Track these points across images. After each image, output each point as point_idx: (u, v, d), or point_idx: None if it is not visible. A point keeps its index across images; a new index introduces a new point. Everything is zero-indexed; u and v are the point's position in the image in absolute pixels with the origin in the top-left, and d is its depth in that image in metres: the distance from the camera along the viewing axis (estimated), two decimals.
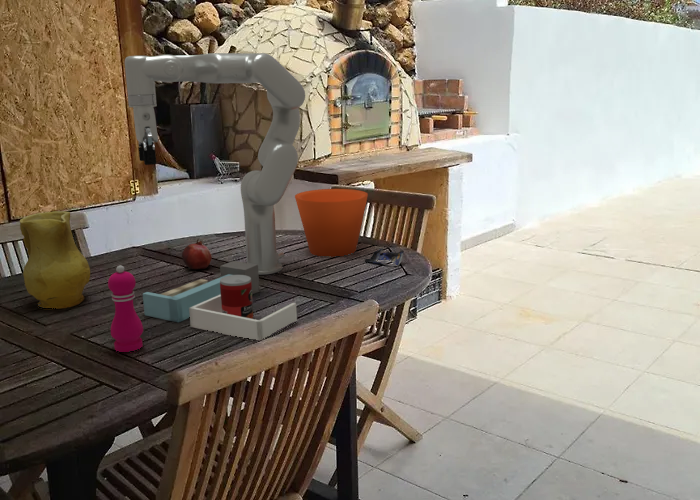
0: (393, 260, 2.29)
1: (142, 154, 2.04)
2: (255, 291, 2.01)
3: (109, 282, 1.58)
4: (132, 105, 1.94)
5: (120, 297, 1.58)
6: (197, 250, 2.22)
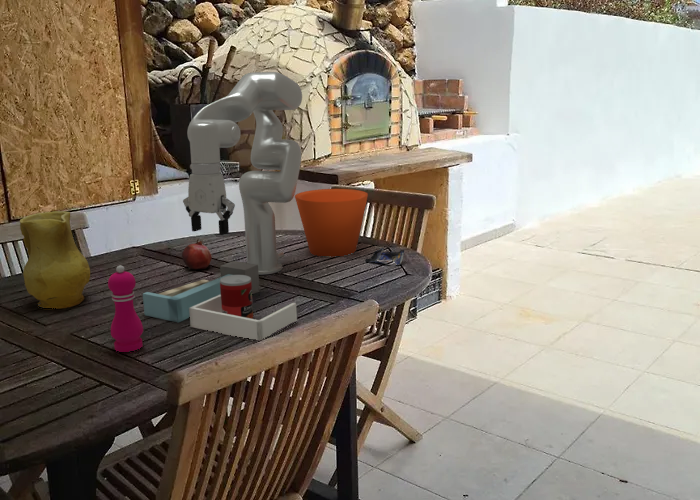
0: (393, 259, 2.30)
1: None
2: (255, 291, 2.01)
3: (109, 282, 1.58)
4: None
5: (120, 297, 1.58)
6: (197, 250, 2.22)
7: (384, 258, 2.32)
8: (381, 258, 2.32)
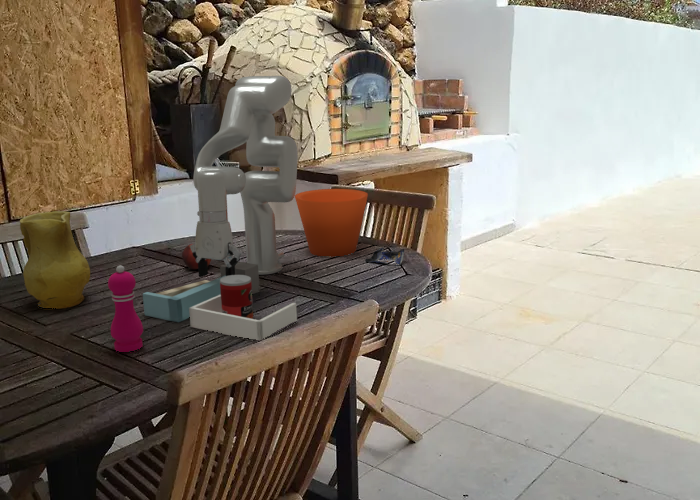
0: (393, 259, 2.30)
1: None
2: (255, 291, 2.01)
3: (109, 282, 1.58)
4: None
5: (120, 297, 1.58)
6: None
7: (384, 258, 2.32)
8: (381, 258, 2.32)
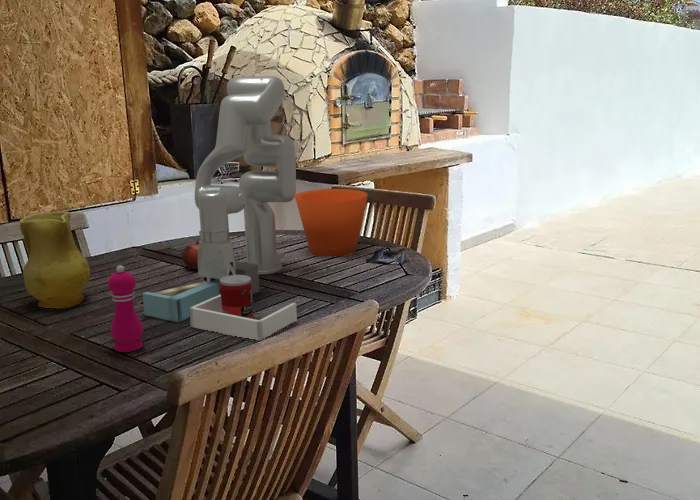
0: (393, 258, 2.31)
1: None
2: (255, 291, 2.01)
3: (109, 282, 1.58)
4: None
5: (120, 297, 1.58)
6: (197, 250, 2.22)
7: (383, 257, 2.33)
8: (380, 257, 2.33)
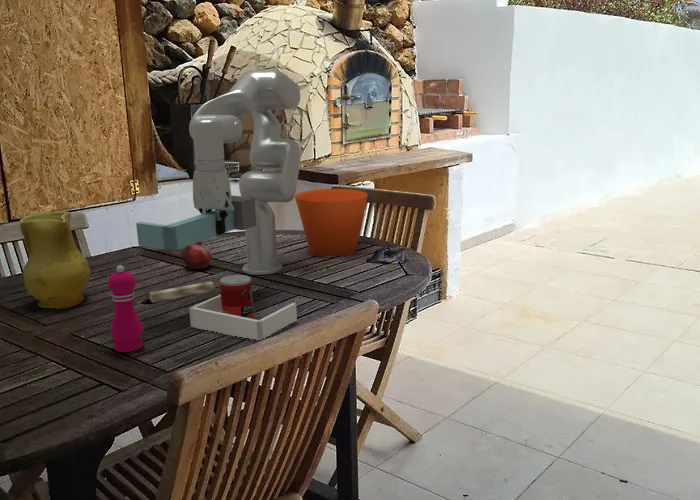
0: (393, 258, 2.32)
1: None
2: (252, 225, 1.97)
3: (109, 282, 1.58)
4: None
5: (120, 297, 1.58)
6: (197, 250, 2.22)
7: (383, 257, 2.33)
8: (380, 257, 2.33)
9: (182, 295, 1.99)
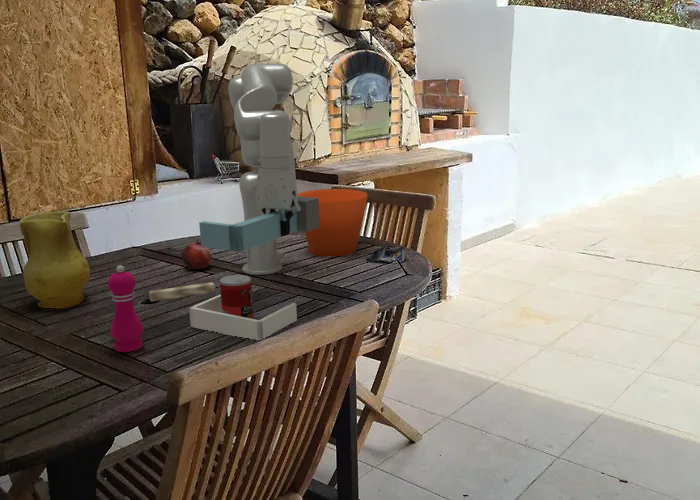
0: (393, 257, 2.32)
1: None
2: (315, 226, 1.87)
3: (109, 282, 1.58)
4: None
5: (120, 297, 1.58)
6: (197, 250, 2.22)
7: (382, 256, 2.34)
8: None
9: (181, 295, 1.99)
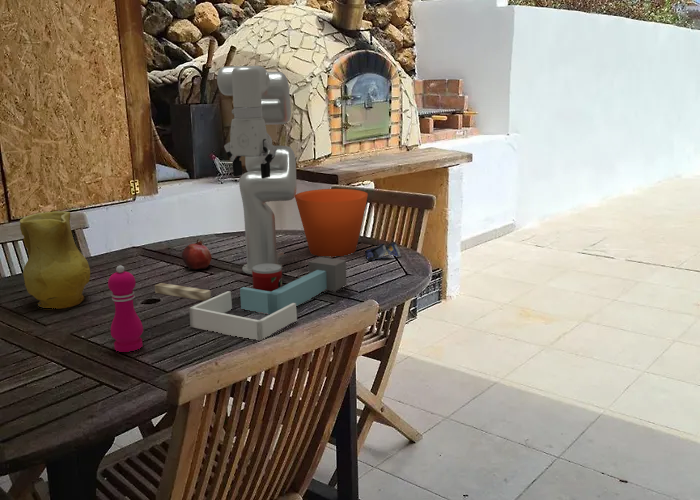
0: (386, 253, 2.37)
1: None
2: None
3: (109, 282, 1.58)
4: None
5: (120, 297, 1.58)
6: (197, 250, 2.22)
7: None
8: (372, 255, 2.36)
9: (178, 295, 2.00)
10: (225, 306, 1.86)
